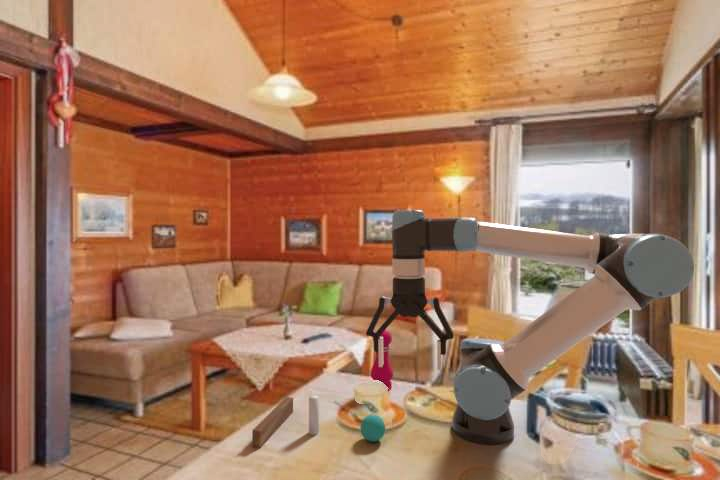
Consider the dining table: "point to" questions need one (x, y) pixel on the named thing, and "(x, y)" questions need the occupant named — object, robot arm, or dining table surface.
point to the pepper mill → (386, 370)
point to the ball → (372, 428)
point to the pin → (313, 415)
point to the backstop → (272, 422)
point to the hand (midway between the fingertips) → (409, 366)
